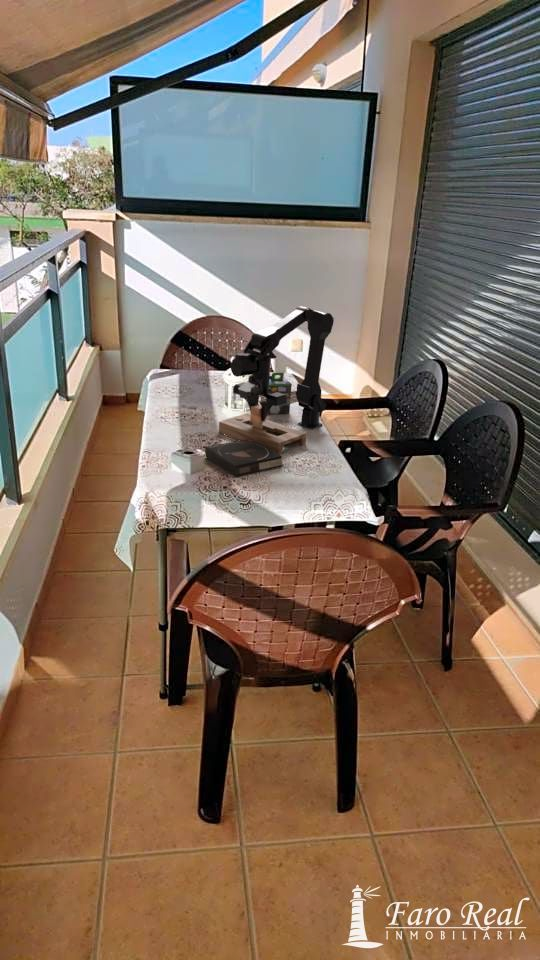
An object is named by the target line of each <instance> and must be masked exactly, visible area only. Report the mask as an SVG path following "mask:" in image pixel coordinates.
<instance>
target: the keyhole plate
mask: <svg viewBox="0 0 540 960" xmlns="http://www.w3.org/2000/svg"><path fill="white" fill-rule="evenodd" d="M250 416H251V413H248V412H247V413H243V414H240V415H236V416H233V417H230V418H227V419H226V418H225V419H222V420H220V421H218V433H219V432H220V433H222V434H221V435H223V434H225V435H224V436H226V435H227V436H226V437H229V436H230V437H229V438H231V437H232V439H235V440H236V441H239V440H245V439H252V440H254V441H256V442H258V443H259V444H261V445H263V446H265V447H266V448H268V449H270V450H272V451H274V452H275V453H277V454H279V455H282V454H283V449H284V445H285V446H286V445H287V444H291V443H292V444H294V445H297V444H298V445H297V446H301V447H303V446H306V444H307V432H305V431H302V430H298V429H296V428H292V427H290V426H286V425H285V424H284V425H283V424H280V423H278V422H275V421H271V420H268V419H266V421H265V422H263V429H260V428H257V427H254V426H253V421H250ZM220 433H219V434H220Z"/></svg>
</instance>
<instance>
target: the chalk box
mask: <svg viewBox="0 0 540 960" xmlns="http://www.w3.org/2000/svg"><path fill="white" fill-rule="evenodd" d="M284 375H285V372H283V371H282V372H272V373H271V376H272V379H270V380H269V388H271V391H270V392H269V393H270V394H272V393H276V392H279V393H282V394H285V395H286V396H287V403H285V404H282V405H278V406H272V407H271V409H270V411H269V412H268V414H267V415H278V414H279V415H280V414H281V415H282V414H290V410H291V409H290V408H291V399H292V398H291V397H292V387H293V386H292V385H293V384H292V383H291V382H290V381H289V380H288V379H286V378H285V376H284ZM276 376H279V377H276ZM263 400H264V398H262V397H260V402H262V401H263Z"/></svg>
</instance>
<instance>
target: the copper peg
mask: <svg viewBox="0 0 540 960" xmlns="http://www.w3.org/2000/svg"><path fill="white" fill-rule="evenodd" d="M261 408H262V406H261V405H260V403H258V404H257V405H253V406H251V412H250V414H251V416H250V421H253V426H254V427H257V428H260V429H263V422H265V421H266V420H267V417H266V418H265V420H264V421H261Z"/></svg>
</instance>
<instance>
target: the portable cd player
mask: <svg viewBox="0 0 540 960" xmlns="http://www.w3.org/2000/svg"><path fill="white" fill-rule="evenodd" d="M204 451H205V453H204V455H205V454H206V457H207V460H208V461H209V462H210V463H213V464H214V465H216V466H217V467H219V468H220V469H222V470H223V471H225V472H226V473H228V474H229V475H231V476H232V477H234V478H238V477H242V476H247V475H251V474H256V473H261V472H266V471H270V470H276V469H279V468H282V467H283V459H282V458H283V457H282V454H280V455H279V454H277V453H275V452H274V451H272V450H270V449H268V448H266V447H265V446H263V445H261V444H259V443H258V442H256V441H254V440H252V439H245V440H240V441H239V440H235V441H234V440H233V441H230V442H223V443H219V444H213V445H209V446H205V449H204Z"/></svg>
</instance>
